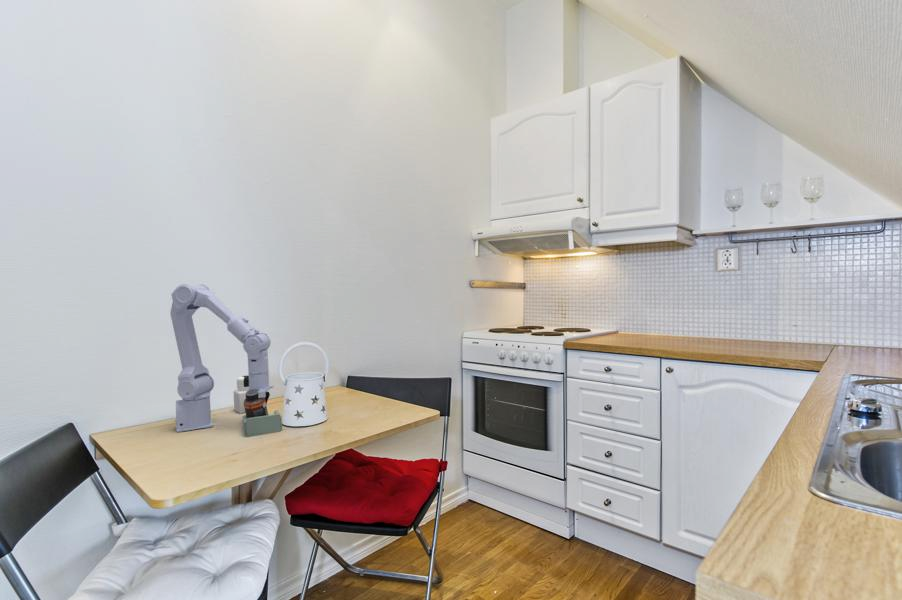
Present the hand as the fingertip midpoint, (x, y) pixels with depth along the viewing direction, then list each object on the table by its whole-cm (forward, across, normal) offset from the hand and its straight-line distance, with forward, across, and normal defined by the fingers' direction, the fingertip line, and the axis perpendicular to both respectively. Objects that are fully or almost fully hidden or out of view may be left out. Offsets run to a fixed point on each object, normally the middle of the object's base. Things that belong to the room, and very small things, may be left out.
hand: (260, 416), depth 139 cm
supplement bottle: (+2, -3, +1) cm, 3 cm away
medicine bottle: (+3, +23, +2) cm, 24 cm away
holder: (+2, -6, 0) cm, 6 cm away
